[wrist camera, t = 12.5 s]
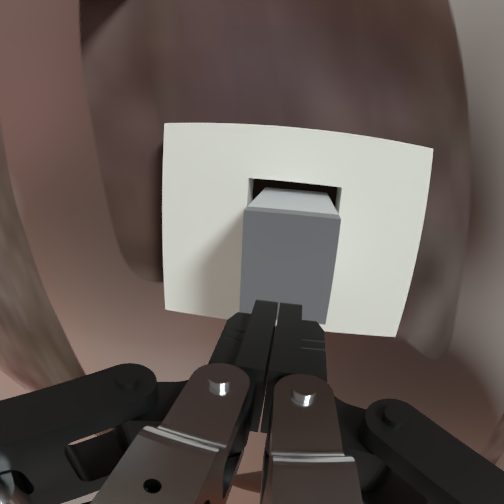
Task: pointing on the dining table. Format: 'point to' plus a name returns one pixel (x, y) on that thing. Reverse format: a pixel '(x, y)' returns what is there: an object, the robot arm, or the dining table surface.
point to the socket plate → (302, 171)
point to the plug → (289, 251)
